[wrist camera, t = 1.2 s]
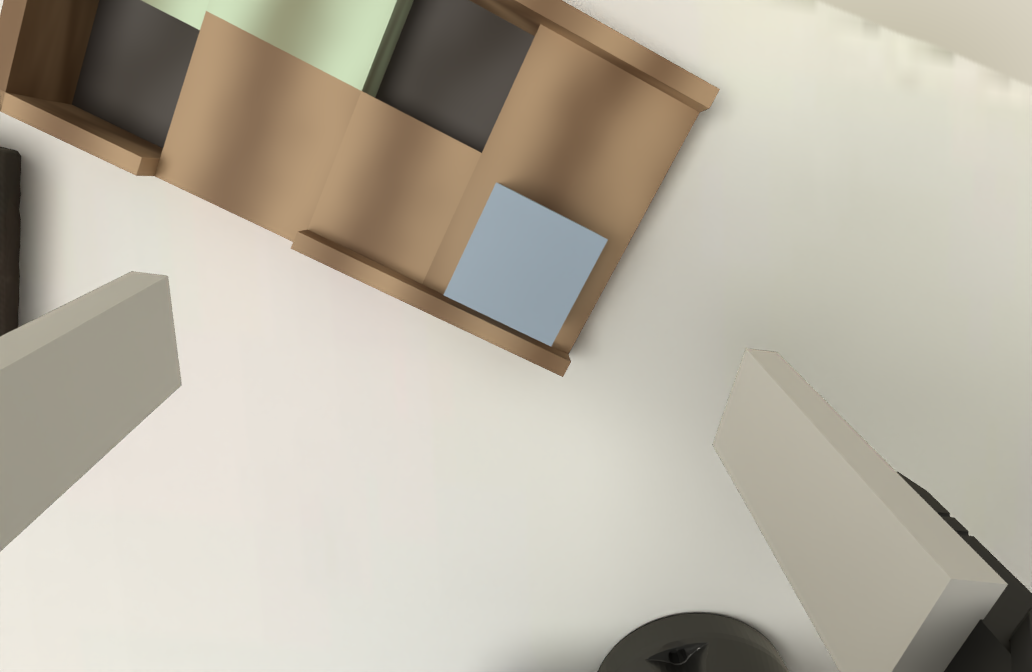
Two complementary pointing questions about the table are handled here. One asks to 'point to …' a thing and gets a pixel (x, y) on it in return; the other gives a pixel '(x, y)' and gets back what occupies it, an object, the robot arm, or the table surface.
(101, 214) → the table surface
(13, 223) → the bible
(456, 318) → the wooden tray
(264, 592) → the table surface
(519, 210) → the block
